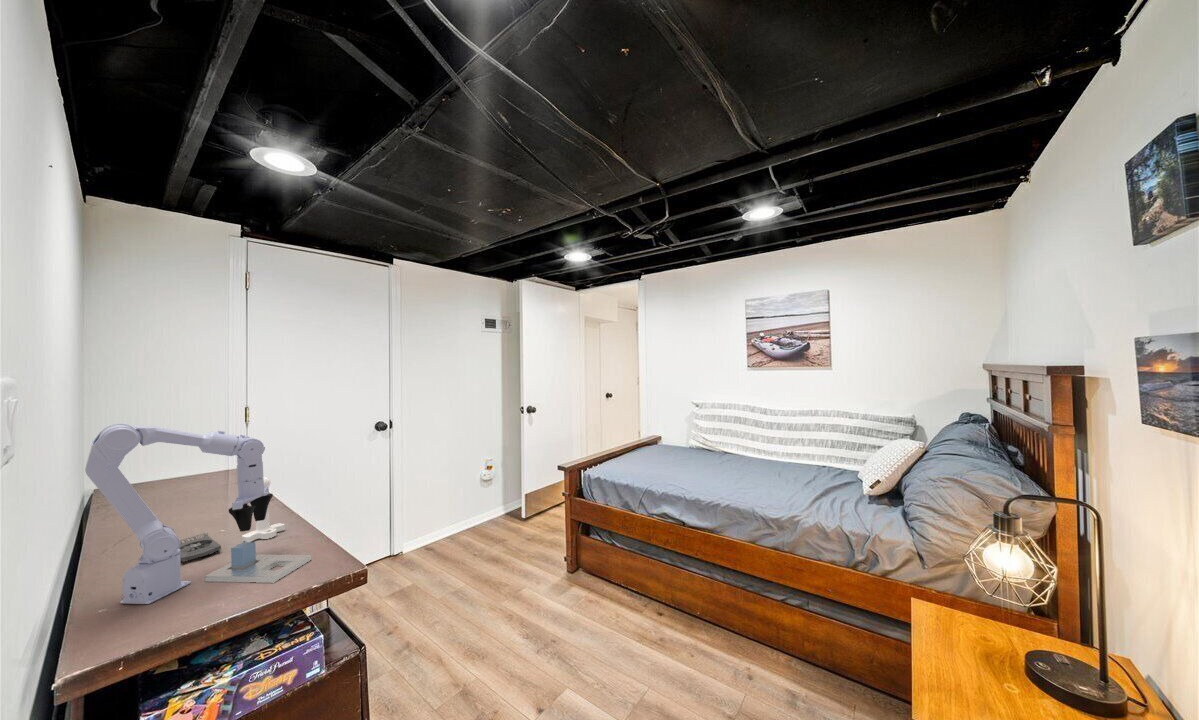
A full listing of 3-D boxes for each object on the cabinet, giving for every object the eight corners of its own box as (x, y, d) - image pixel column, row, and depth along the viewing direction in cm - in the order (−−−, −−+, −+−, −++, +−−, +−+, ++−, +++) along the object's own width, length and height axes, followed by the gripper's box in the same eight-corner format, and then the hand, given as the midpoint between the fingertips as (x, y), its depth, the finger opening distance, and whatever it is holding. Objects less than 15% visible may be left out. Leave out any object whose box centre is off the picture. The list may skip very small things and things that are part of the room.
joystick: (277, 529, 140) (276, 472, 140) (290, 531, 137) (289, 474, 138) (239, 542, 130) (237, 481, 130) (252, 545, 127) (251, 483, 127)
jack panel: (273, 583, 104) (273, 577, 104) (204, 581, 106) (204, 575, 106) (310, 560, 116) (310, 555, 116) (248, 559, 118) (248, 554, 118)
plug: (243, 573, 110) (243, 548, 110) (231, 573, 110) (231, 548, 110) (255, 567, 113) (255, 542, 113) (244, 566, 113) (243, 542, 114)
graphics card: (154, 546, 122) (208, 530, 132) (155, 558, 122) (208, 542, 132) (168, 560, 113) (224, 542, 123) (169, 573, 113) (225, 554, 123)
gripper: (252, 484, 110) (255, 533, 110) (279, 470, 124) (281, 514, 124) (221, 488, 108) (224, 537, 108) (252, 473, 122) (254, 517, 122)
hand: (252, 525), depth 116 cm, fingers open, 7 cm apart
